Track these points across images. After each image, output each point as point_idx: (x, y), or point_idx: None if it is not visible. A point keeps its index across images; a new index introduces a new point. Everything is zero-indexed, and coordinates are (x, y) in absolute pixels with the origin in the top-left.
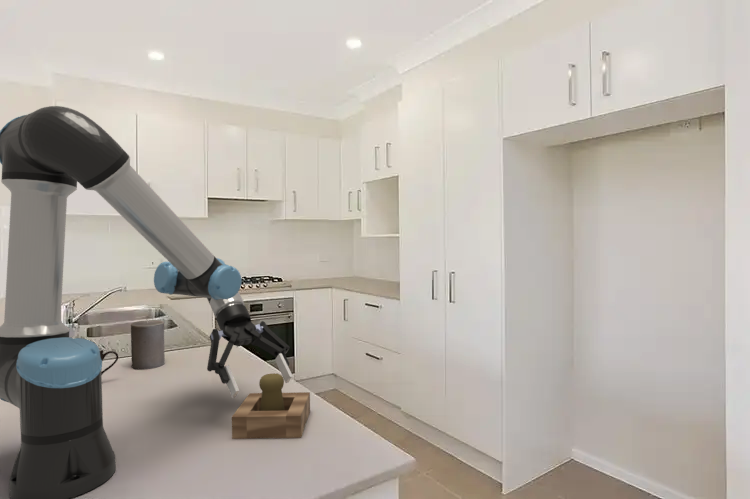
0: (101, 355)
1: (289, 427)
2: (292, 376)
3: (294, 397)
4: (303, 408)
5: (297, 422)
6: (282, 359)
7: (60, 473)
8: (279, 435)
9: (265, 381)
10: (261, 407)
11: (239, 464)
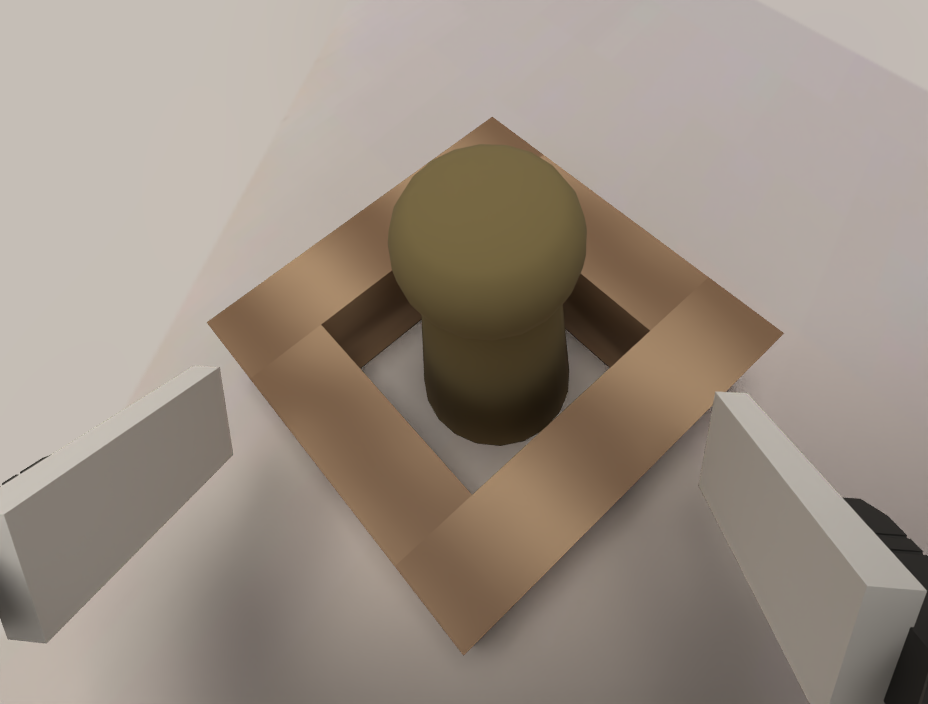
0: None
1: None
2: (195, 368)
3: (322, 327)
4: (419, 170)
5: None
6: (74, 459)
7: None
8: None
9: (571, 187)
10: (562, 339)
11: (795, 177)
